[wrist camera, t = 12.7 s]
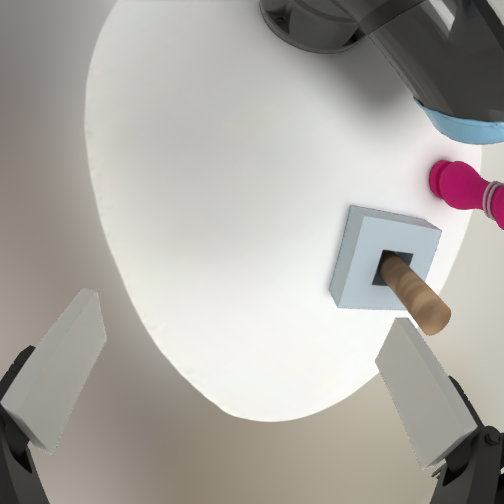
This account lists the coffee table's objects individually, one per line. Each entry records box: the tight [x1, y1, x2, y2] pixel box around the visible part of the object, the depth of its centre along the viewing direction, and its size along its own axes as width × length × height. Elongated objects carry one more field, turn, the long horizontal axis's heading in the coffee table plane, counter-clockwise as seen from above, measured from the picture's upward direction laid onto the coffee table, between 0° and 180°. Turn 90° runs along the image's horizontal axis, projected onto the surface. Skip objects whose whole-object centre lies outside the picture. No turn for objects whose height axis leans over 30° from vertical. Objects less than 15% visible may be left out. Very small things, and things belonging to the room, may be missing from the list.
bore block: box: [329, 205, 442, 310], centre depth 40 cm, size 14×14×5 cm
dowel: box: [376, 250, 451, 336], centre depth 34 cm, size 4×4×17 cm
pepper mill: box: [430, 160, 504, 230], centre depth 28 cm, size 7×7×20 cm
